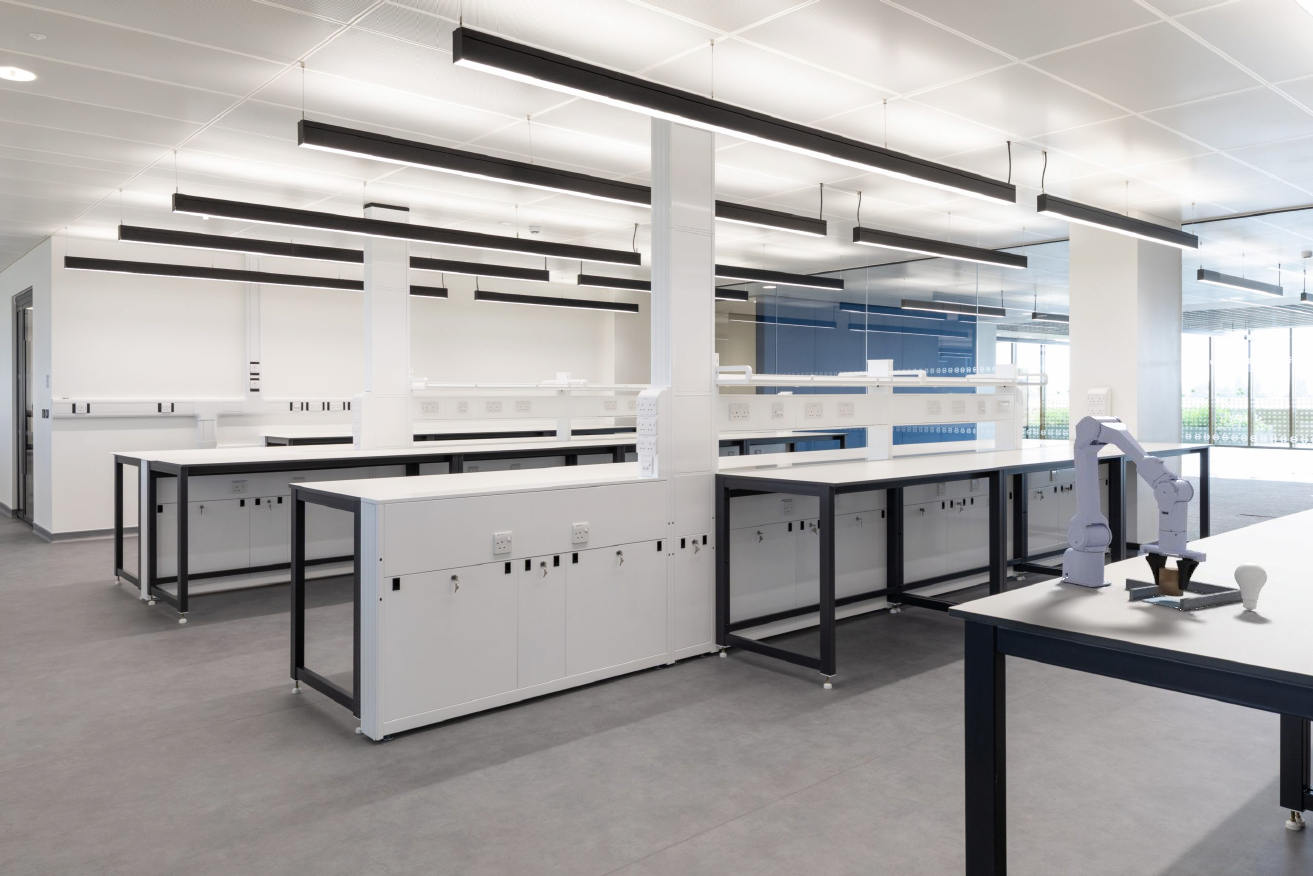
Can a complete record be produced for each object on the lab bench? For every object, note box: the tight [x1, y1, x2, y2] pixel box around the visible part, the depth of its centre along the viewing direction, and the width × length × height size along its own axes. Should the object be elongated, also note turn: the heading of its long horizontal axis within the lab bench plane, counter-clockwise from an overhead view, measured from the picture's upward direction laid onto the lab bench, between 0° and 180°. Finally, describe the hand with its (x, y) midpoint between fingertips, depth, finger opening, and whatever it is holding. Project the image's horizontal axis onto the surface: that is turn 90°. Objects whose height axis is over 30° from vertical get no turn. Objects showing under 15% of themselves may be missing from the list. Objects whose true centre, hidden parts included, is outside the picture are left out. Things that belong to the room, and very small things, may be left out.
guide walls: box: [1125, 577, 1243, 611], centre depth 208 cm, size 22×24×2 cm
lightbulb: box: [1234, 562, 1268, 612], centre depth 194 cm, size 6×6×11 cm
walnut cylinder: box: [1159, 566, 1185, 598], centre depth 201 cm, size 5×5×6 cm
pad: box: [1141, 596, 1180, 608], centre depth 201 cm, size 8×8×1 cm
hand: (1171, 587), depth 201 cm, fingers closed on walnut cylinder, 5 cm apart
